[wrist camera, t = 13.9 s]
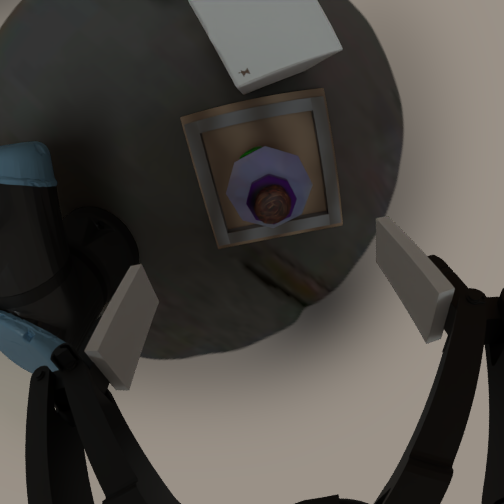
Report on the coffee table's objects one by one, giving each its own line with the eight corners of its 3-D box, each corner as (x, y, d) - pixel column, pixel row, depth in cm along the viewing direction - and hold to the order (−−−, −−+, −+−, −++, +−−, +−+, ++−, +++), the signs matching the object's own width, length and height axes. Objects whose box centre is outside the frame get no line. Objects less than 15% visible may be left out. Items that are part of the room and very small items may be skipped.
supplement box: (310, 70, 30) (347, 52, 17) (242, 96, 32) (235, 92, 18) (279, 10, 26) (295, -41, 13) (211, 36, 27) (184, -3, 14)
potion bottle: (260, 122, 31) (264, 133, 21) (316, 167, 34) (344, 200, 23) (216, 178, 35) (199, 215, 24) (271, 218, 37) (278, 269, 27)
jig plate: (219, 242, 41) (217, 253, 38) (183, 116, 33) (177, 117, 30) (339, 219, 39) (345, 229, 37) (319, 88, 31) (325, 87, 28)
